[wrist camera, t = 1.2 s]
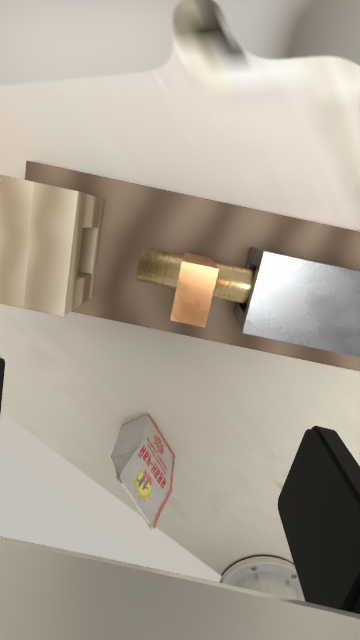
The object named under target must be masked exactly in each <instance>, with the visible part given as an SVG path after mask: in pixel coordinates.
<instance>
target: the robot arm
mask: <svg viewBox="0 0 360 640" xmlns="http://www.w3.org/2000/svg"><path fill="white" fill-rule="evenodd" d="M4 369H5V361H4V359H2V358H0V412H1V401H2V390H3V380H4ZM278 510H279V514H280V518H281V521H282V524H283V528H284V531H285V534H286V538H287V541H288V545H289V548H290V551H291V555H292V558H293V562H294V565H293V564H291V563H290V562H288V561H285V560H283V559H280V558H275V557H268V556H259V557H252V558H248V559H244V560H242V561H240V562H237V563H236V564H234V565H233V566H231V567H230V568H229V569H228V570H227V571H226V572H225V573H224V575H223V576H222V577H221V580H220V582H219V583H218V582H213V581H209V580H205V579H200V578H195V577H190V576H186V575H181V574H177V573H172V572H167V571H162V570H158V569H153V568H149V567H144V566H139V565H134V564H130V563H125V562H121V561H116V560H110V559H106V558H102V557H97V556H92V555H87V554H83V553H78V552H73V551H69V550H64V549H59V548H54V547H49V546H44V545H40V544H35V543H29V542H24V541H20V540H15V539H11V538H6V537H0V640H360V466H359V465H358V463H357V462H356V460H355V459H354V458H353V456H352V455H351V453H350V452H349V450H348V449H347V447H346V446H345V444H344V443H343V441H342V440H341V438H340V437H339V435H338V434H337V432H336V431H335V430H331V429H327V428H323V427H318V426H314V427H313V428H312V429H311V430H310V429H308V430H307V431H306V432H305V434H304V436H303V439H302V441H301V444H300V446H299V449H298V451H297V454H296V456H295V459H294V461H293V464H292V466H291V469H290V471H289V474H288V476H287V479H286V481H285V483H284V486H283V488H282V491H281V493H280V496H279V499H278Z"/></svg>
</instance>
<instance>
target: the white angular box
mask: <svg viewBox="0 0 360 640" xmlns="http://www.w3.org/2000/svg"><path fill="white" fill-rule="evenodd" d="M111 458H112V460H113V463H114V465H115V468H116V473H117V475H116V478H117V480H118V481H119V483H120V484H121V486H122V487H123V489H124V490H125V492H126V493H127V495H128V496H129V498H130V499H131V501H132V502H133V504H134V505H135V507H136V508H137V510H138V511H139V513H140V514H141V516H142V517H143V519H144V520H145V521H146V523H147V525H148V526H149V527H150V529H151V526H152V527H153V528H155V525H156V522H157V520H158V517H159V515H160V513H161V511H162V509H163V507H164V505H165V503H166V501H167V499H168V497H169V495H170V493H171V491H172V480H173V468H174V454H173V453H172V451H171V450H170V448H169V446H168V445H167V443H166V441H165V440H164V438H163V436H162V435H161V433H160V431H159V430H158V428H157V427H156V425H155V423H154V422H153V420H152V418H151V417H150V415H149V413H148V414H146V415H144V416H141V417H139V418H137V419H135V420H133V421H130V422H128V423H126V424H124V425H122V428H121V430H120V433H119V436H118V439H117V441H116V444H115V447H114V450H113V452H112V455H111Z"/></svg>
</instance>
